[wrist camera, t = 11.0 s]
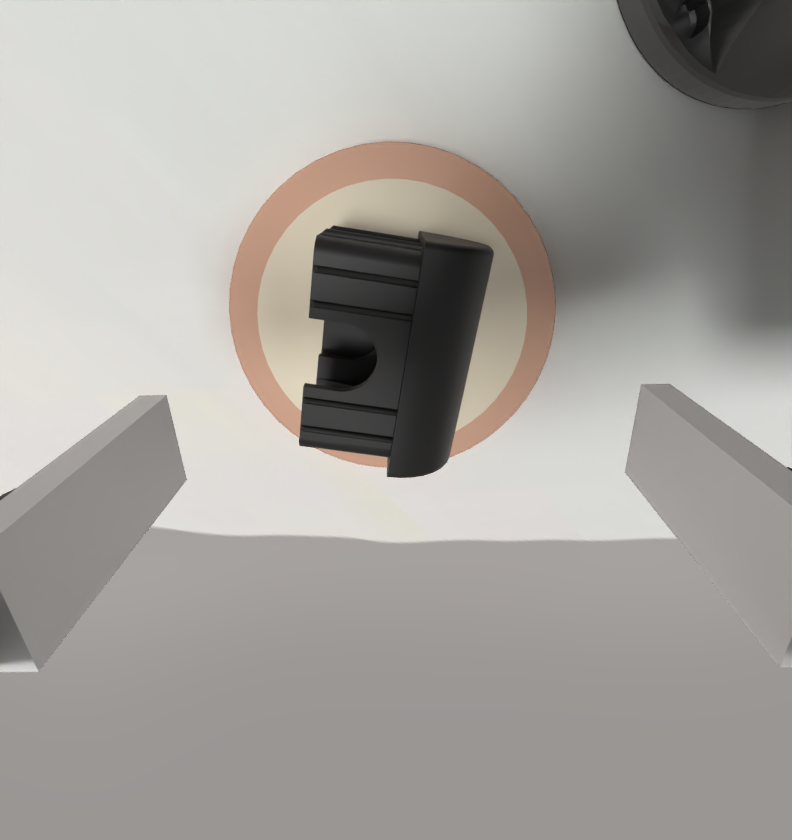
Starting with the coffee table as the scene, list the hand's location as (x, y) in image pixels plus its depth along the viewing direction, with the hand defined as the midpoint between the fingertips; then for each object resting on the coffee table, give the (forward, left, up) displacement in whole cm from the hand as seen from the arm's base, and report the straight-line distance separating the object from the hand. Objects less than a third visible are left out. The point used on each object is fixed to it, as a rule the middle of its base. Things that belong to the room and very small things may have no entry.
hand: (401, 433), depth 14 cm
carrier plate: (0, 0, -15) cm, 15 cm away
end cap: (0, 0, -13) cm, 13 cm away
